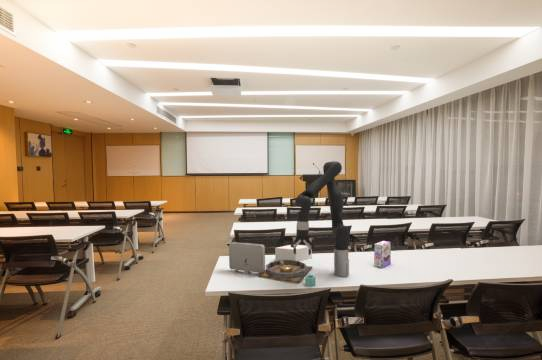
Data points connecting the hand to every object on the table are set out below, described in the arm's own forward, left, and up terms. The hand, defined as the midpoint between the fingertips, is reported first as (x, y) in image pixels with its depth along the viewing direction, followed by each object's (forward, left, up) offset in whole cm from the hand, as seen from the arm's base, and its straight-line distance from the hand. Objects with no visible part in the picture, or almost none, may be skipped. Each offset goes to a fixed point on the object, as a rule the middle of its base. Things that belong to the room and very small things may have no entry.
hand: (302, 254), depth 166 cm
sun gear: (+16, -12, -16) cm, 26 cm away
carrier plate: (+16, -12, -18) cm, 27 cm away
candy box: (-43, -52, -18) cm, 70 cm away
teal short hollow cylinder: (-5, +1, -18) cm, 19 cm away
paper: (+21, -40, -18) cm, 49 cm away
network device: (+41, -2, -18) cm, 44 cm away
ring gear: (+16, -12, -16) cm, 26 cm away
